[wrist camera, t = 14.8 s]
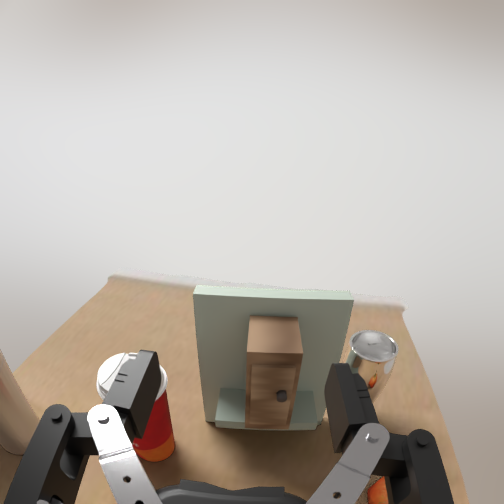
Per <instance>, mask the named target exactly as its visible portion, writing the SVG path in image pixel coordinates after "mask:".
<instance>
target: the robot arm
mask: <svg viewBox="0 0 504 504" xmlns="http://www.w3.org/2000/svg"><path fill="white" fill-rule="evenodd" d="M160 386H161V371H160V366H159V360H158V355H157V352H154V351H147V350H140V351H139V353H138V355H137V357H136V359H130V358H129V359H128V360H127V361H126V362H125V363H124V364H122V366H121V367H120V369H119V371H118V375H116V377H115V380H114V381H113V383H112V385H111V387H110V389H109V391H108V393H107V395H106V397H105V399H104V401H103V403H102V405H98V406H96V407H94V408H92V409H91V410H90V412H88V413H71V412H70V410H69V409H68V408H67V407H66V406H64V405H61V404H55V405H52V406H50V407H49V408H47V409H46V411H45V412H44V414H43V416H42V418H41V420H39V418H38V417H37V415H36V414H35V412H34V411H33V409H32V407H31V406H30V404H29V402H28V401H27V399H26V397H25V396H24V394H23V392H22V390H21V389H20V387H19V385H18V383H17V381H16V380H15V378H14V376H13V374H12V372H11V370H10V368H9V366H8V364H7V362H6V360H5V358H4V356H3V354H2V352H1V350H0V444H1V446H2V447H3V448H4V449H5V450H6V451H8V452H10V453H12V454H16V455H22V454H24V455H23V457H22V460H21V462H20V464H19V467H18V469H17V471H16V474H15V476H14V478H13V481H12V483H11V486H10V488H9V491H8V493H7V496H6V499H5V501H4V504H75V500H76V497H77V493H78V490H79V487H80V484H81V480H82V477H83V474H84V471H85V468H86V465H87V462H88V459H89V456H90V455H99V456H100V457H99V461H100V464H101V467H102V469H103V472H104V474H105V477H106V479H107V482H108V484H109V486H110V488H111V491H112V493H113V495H114V497H115V499H116V502H117V504H355V502H356V501H357V499H358V498H359V496H360V494H361V493H362V491H363V490H364V488H365V486H366V485H367V483H368V481H369V479H370V475H379V476H384V479H385V485H386V491H387V497H388V503H389V504H454V502H453V498H452V494H451V490H450V487H449V483H448V479H447V476H446V473H445V469H444V466H443V463H442V459H441V456H440V453H439V450H438V447H437V444H436V441H435V438H434V436H433V435H432V434H431V433H430V432H428V431H426V430H423V429H417V430H414V431H412V432H411V433H410V434H409V435H408V436H406V435H398V434H392V433H389V432H388V430H387V429H386V428H385V427H384V426H382V425H380V424H379V422H378V419H377V416H376V412H375V409H374V406H373V403H372V400H371V398H370V394H369V391H368V388H367V385H366V382H365V380H364V379H363V378H362V377H361V376H360V375H359V373H353V374H352V372H351V369H350V366H349V364H348V363H332V364H331V367H330V370H329V374H328V377H327V381H326V384H325V389H324V397H325V402H326V408H327V413H328V419H329V424H330V430H331V436H332V442H333V448H334V453H340V452H342V457H341V459H340V460H339V461H338V462H337V464H336V465H335V466H334V468H333V469H332V470H331V472H330V473H329V474H328V476H327V477H326V478H325V480H324V481H323V482H322V484H321V485H320V486H319V488H318V489H317V490H316V491H315V493H314V494H313V495H312V496H311V498H310V499H309V500H308V501H305V500H304V499H302V498H300V497H298V496H296V495H293V494H290V493H285V492H284V487H254V488H248V489H241V490H234V491H231V490H227V489H224V488H220V487H217V486H214V485H211V484H208V483H205V482H197V481H190V480H184V479H181V480H180V485H171V486H167V487H163V488H161V489H158V490H156V489H155V487H154V485H153V484H152V482H151V480H150V478H149V477H148V475H147V473H146V471H145V469H144V467H143V465H142V463H141V461H140V459H139V457H138V455H137V453H136V451H135V449H134V447H133V445H132V444H133V441H134V438H138V439H142V438H143V435H144V432H145V429H146V426H147V423H148V420H149V418H150V415H151V412H152V409H153V406H154V403H155V400H156V397H157V394H158V392H159V389H160Z"/></svg>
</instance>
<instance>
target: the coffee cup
mask: <svg viewBox="0 0 504 504" xmlns="http://www.w3.org/2000/svg"><path fill="white" fill-rule="evenodd" d="M137 355H138V353H129V354H125V353H120V354H117V355H115V356H112V357H111V358H109V359H108V360H106V361H105V362H104V363H103V364H102V365H101V367H100V369H99V371H98V376H97V391H98V393H99V395H100V397H101V398H102V399H103V400H104V399H105V397H106V395H107V393H108V391H109V389H110V387H111V385H112V383H113V381H114V380H115V377H116V375H118V371H119V369H120V367H121V366H122V364H124V363H125V362H126V361H127V360H128V359H129V358H130V359H136V357H137ZM159 366H160V365H159ZM160 371H161V386H160V389H159V392H158V394H157V397H156V400H155V403H154V406H153V409H152V412H151V415H150V418H149V420H148V423H147V426H146V429H145V432H144V435H143V438H142V439H138V438H134V441H133V444H132V445H133V447H134V449H135V451H136V453H137V454H138V455H139V456H140V457H141V458H142V459H144V460H147V461H152V462H157V461H162V460H165V459H166V458H168V457H169V456H170V455H171V454H172V453H173V451H174V447H175V443H174V435H173V430H172V424H171V418H170V412H169V406H168V400H167V393H166V386H167V375H166V372H165V370H164V369H163V368H162V367H161V366H160Z"/></svg>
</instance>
